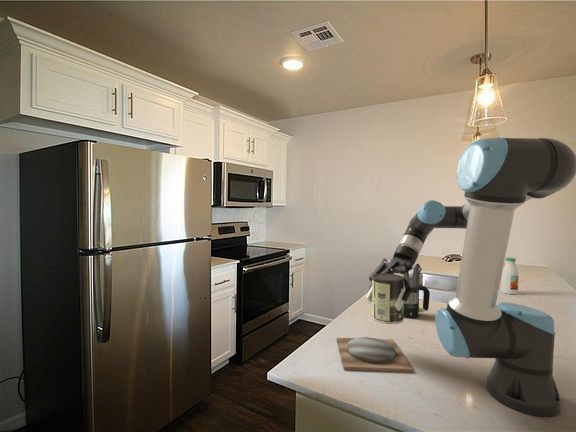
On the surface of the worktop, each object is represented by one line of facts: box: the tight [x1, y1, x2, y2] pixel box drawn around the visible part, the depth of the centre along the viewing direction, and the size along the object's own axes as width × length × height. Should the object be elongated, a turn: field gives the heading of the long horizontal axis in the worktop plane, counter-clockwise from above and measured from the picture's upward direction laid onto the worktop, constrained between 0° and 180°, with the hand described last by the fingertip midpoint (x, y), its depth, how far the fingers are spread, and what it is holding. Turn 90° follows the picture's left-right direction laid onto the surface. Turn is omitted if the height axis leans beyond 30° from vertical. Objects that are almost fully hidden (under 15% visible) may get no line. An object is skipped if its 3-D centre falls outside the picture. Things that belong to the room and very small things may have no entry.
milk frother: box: [404, 280, 431, 319], centre depth 142 cm, size 14×16×15 cm
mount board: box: [336, 336, 414, 373], centre depth 101 cm, size 20×20×2 cm
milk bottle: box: [500, 257, 519, 295], centre depth 176 cm, size 8×8×20 cm
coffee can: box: [371, 273, 405, 325], centre depth 103 cm, size 10×10×14 cm
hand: (382, 304), depth 101 cm, fingers closed on coffee can, 10 cm apart
